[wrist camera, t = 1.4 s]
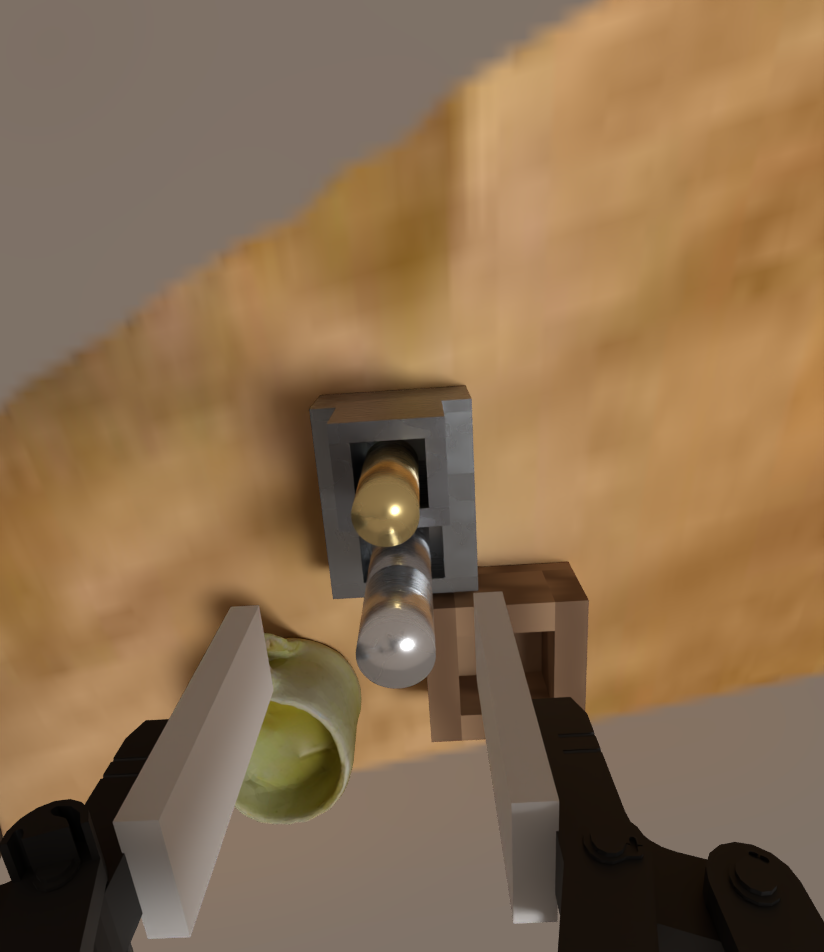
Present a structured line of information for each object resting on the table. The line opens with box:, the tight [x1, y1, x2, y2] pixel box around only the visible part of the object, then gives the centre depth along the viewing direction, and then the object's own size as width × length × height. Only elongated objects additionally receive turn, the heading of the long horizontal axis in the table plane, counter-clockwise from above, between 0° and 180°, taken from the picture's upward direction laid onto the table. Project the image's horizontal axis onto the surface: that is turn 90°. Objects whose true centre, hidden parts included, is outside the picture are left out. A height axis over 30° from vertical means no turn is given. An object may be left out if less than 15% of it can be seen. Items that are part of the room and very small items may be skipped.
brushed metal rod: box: [356, 527, 436, 688], centre depth 32 cm, size 3×3×14 cm
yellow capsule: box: [351, 440, 420, 547], centre depth 28 cm, size 3×3×7 cm
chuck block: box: [309, 386, 478, 599], centre depth 34 cm, size 9×12×9 cm
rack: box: [427, 562, 589, 742], centre depth 40 cm, size 10×10×5 cm
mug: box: [235, 633, 361, 824], centre depth 40 cm, size 12×10×10 cm
